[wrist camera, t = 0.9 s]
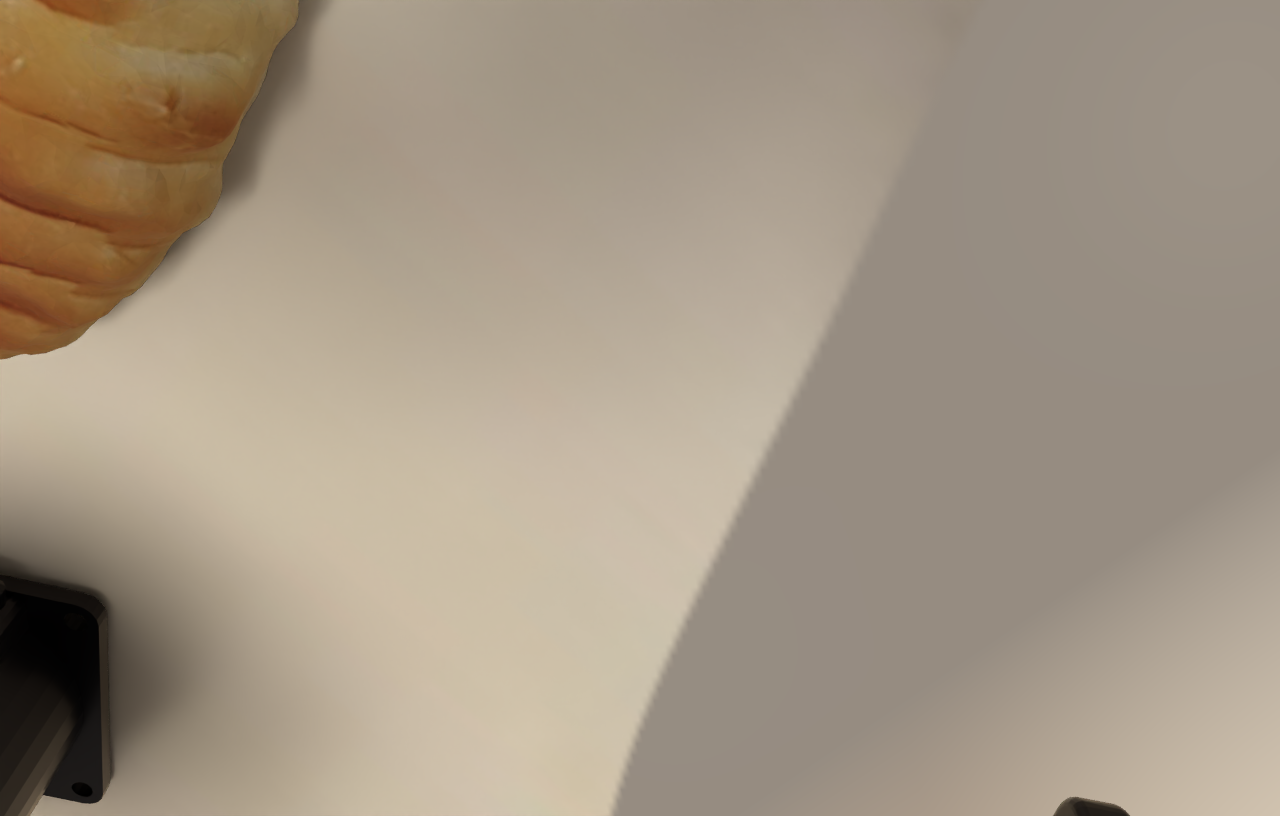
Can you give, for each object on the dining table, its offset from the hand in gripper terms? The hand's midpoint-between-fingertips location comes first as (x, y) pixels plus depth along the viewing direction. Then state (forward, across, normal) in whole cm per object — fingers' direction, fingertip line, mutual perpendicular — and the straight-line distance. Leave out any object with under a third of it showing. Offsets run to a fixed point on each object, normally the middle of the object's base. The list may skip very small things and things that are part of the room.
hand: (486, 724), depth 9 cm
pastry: (+14, +9, 0) cm, 16 cm away
